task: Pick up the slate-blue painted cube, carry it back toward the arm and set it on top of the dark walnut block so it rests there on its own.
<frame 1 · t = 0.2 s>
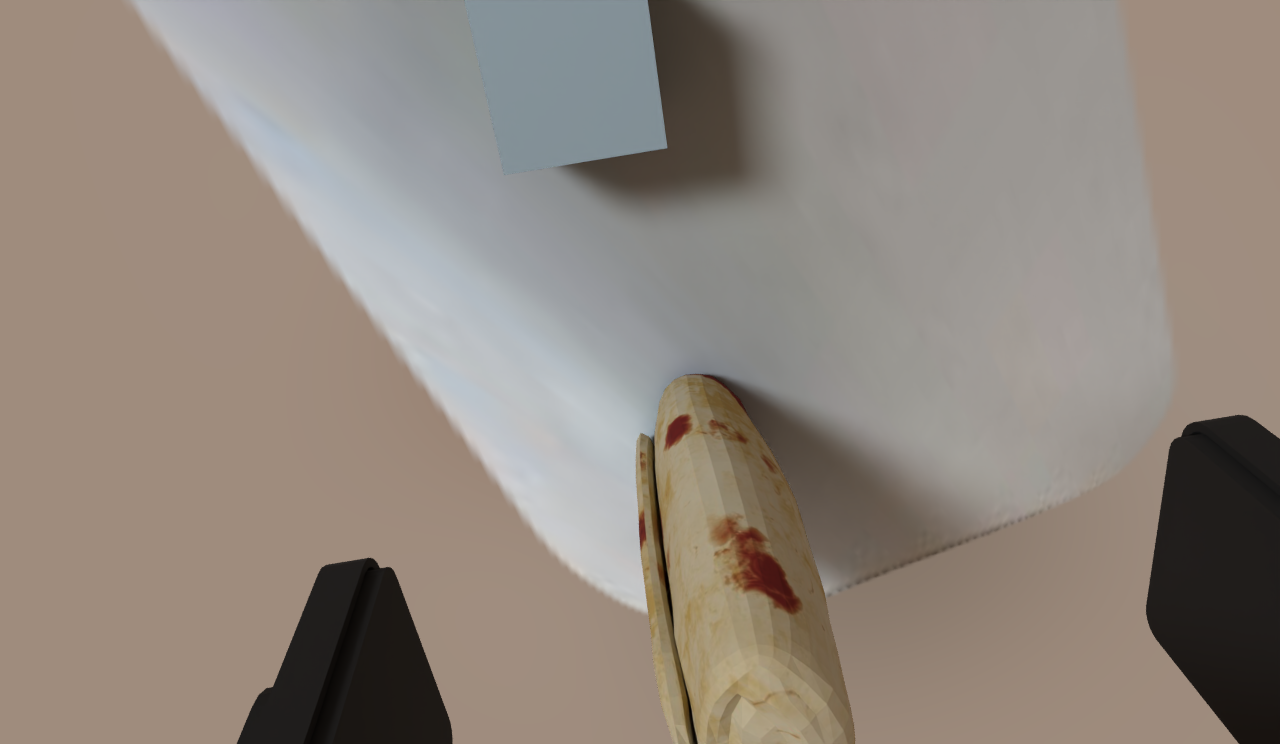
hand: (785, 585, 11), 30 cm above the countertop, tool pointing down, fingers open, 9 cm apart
food model: (698, 427, 45), on the countertop
slate cube: (571, 49, 36), on the countertop
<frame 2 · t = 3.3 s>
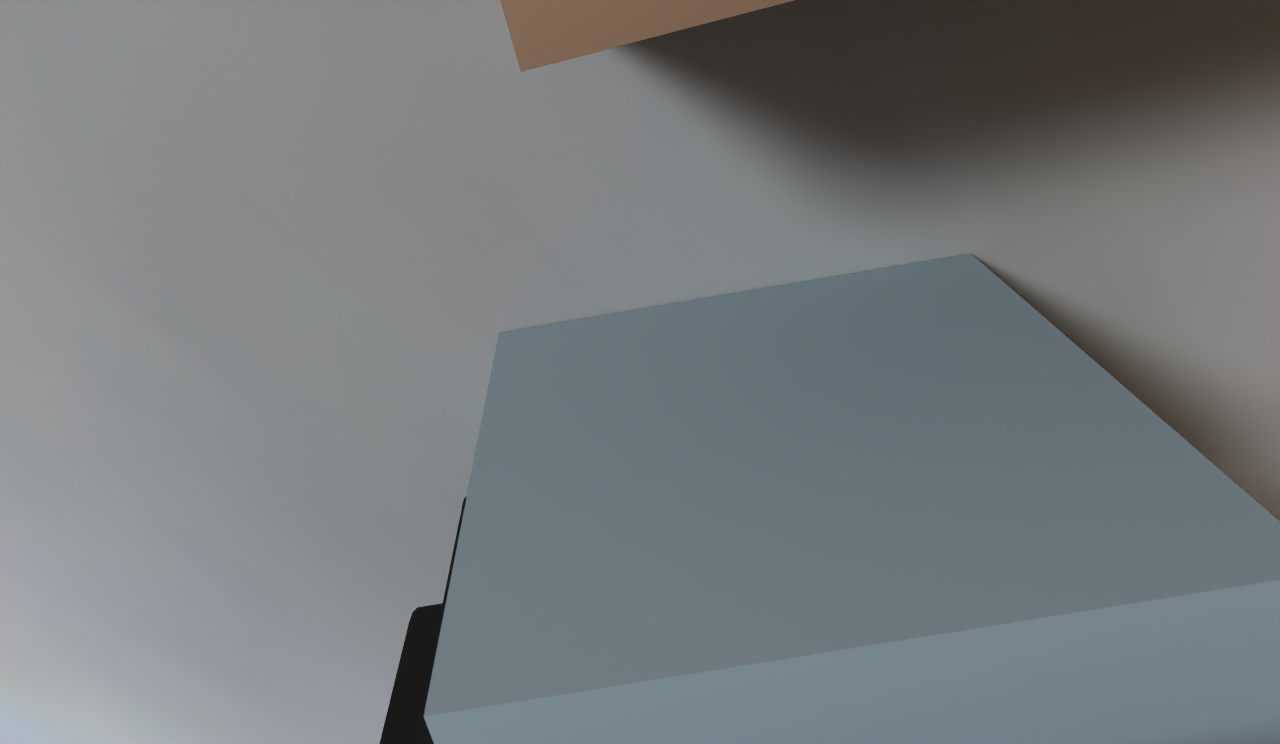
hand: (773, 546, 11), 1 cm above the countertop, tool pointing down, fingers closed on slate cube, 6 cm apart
slate cube: (756, 487, 12), on the countertop, touching gripper
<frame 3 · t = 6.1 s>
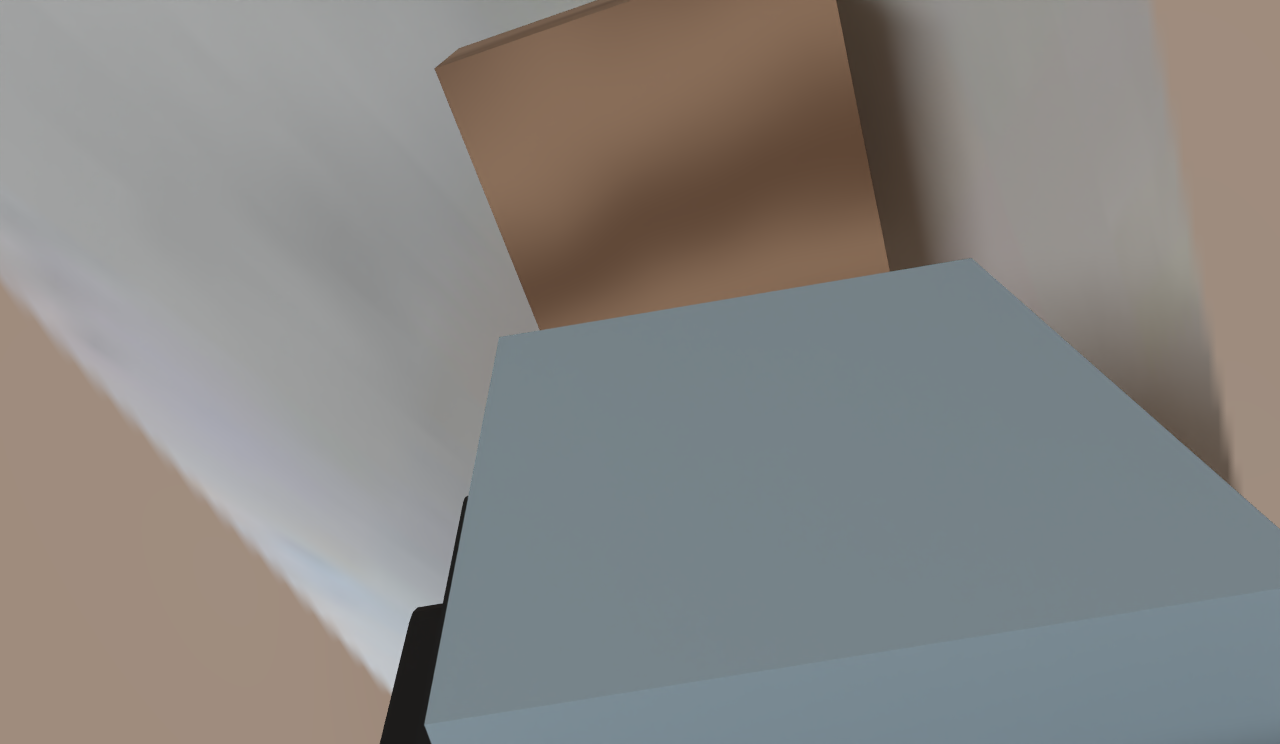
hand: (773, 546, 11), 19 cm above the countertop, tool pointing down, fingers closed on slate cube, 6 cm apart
slate cube: (756, 491, 12), point 18 cm above the countertop, touching gripper
walnut block: (666, 154, 28), on the countertop
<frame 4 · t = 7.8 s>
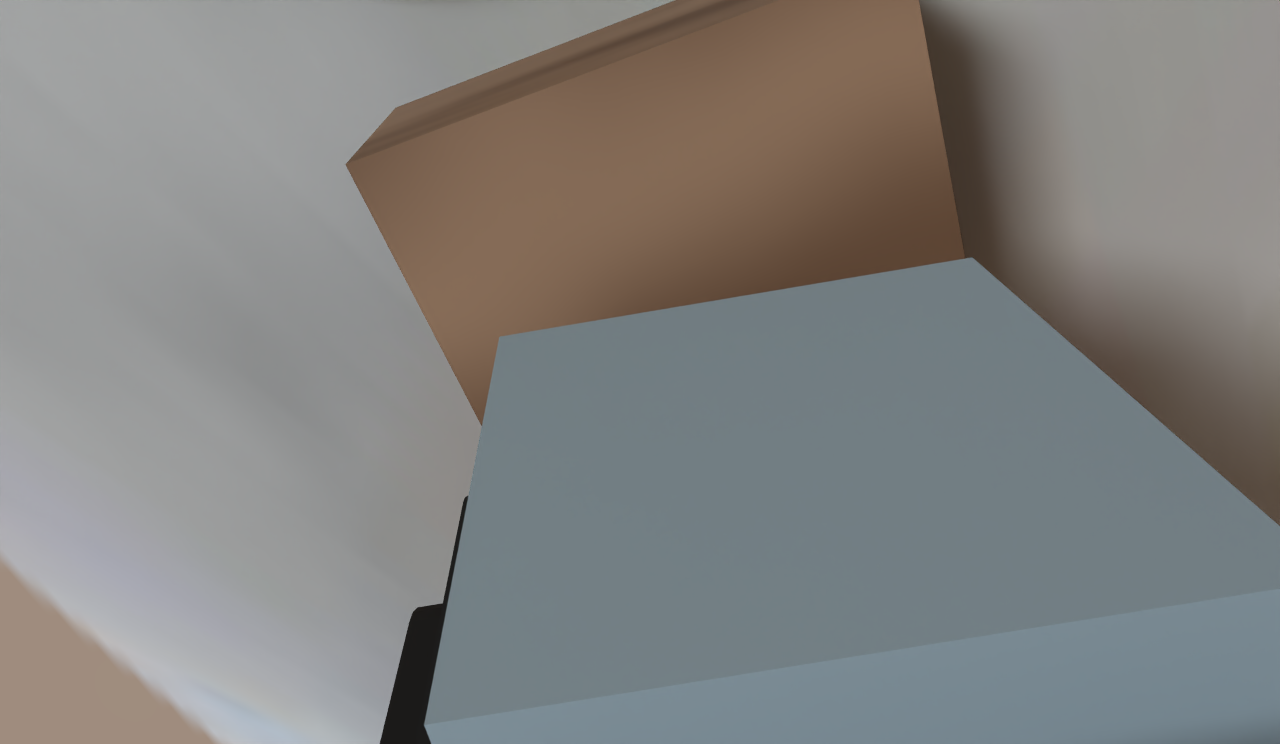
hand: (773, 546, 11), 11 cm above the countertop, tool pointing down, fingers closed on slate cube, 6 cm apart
slate cube: (756, 491, 12), point 10 cm above the countertop, touching gripper
walnut block: (680, 231, 21), on the countertop
when the fingers open (7 cm above the countertop, at t = 9.1 s): slate cube drops 1 cm, point 5 cm above the countertop.
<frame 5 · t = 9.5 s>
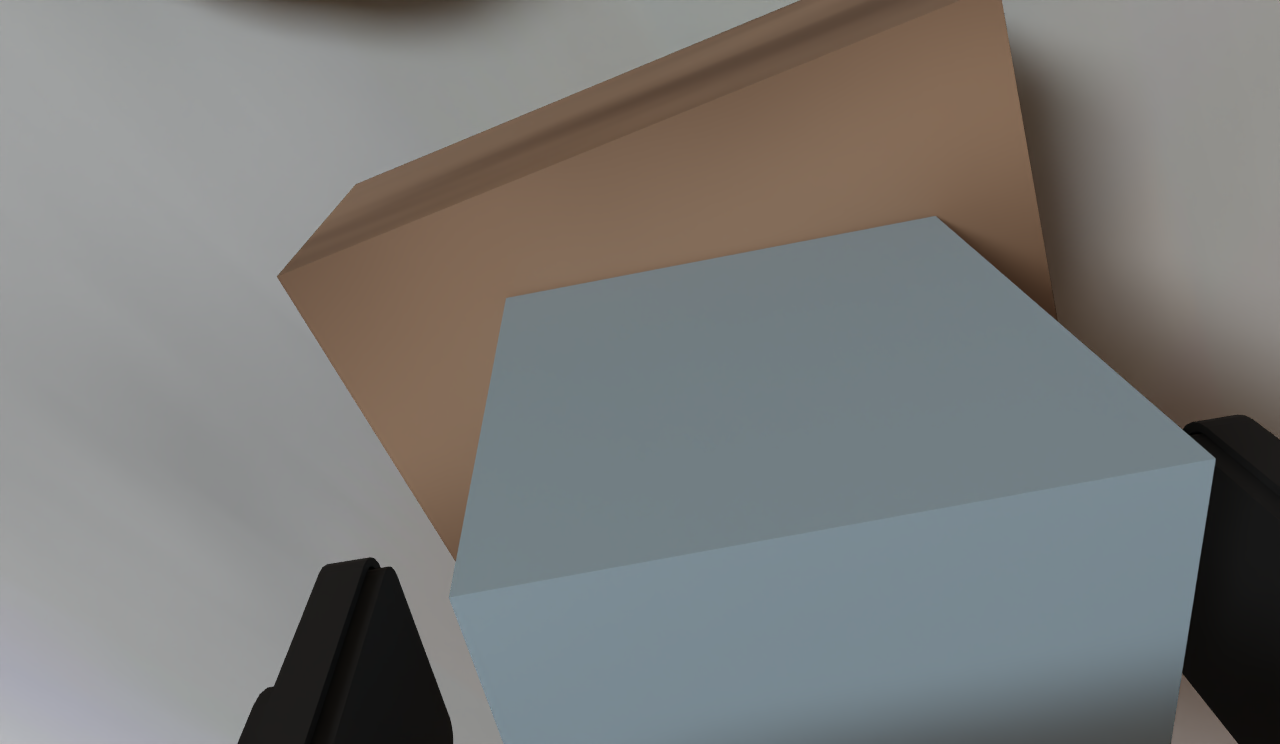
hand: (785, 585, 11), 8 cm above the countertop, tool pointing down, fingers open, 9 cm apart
slate cube: (745, 438, 14), point 5 cm above the countertop
walnut block: (701, 312, 18), on the countertop
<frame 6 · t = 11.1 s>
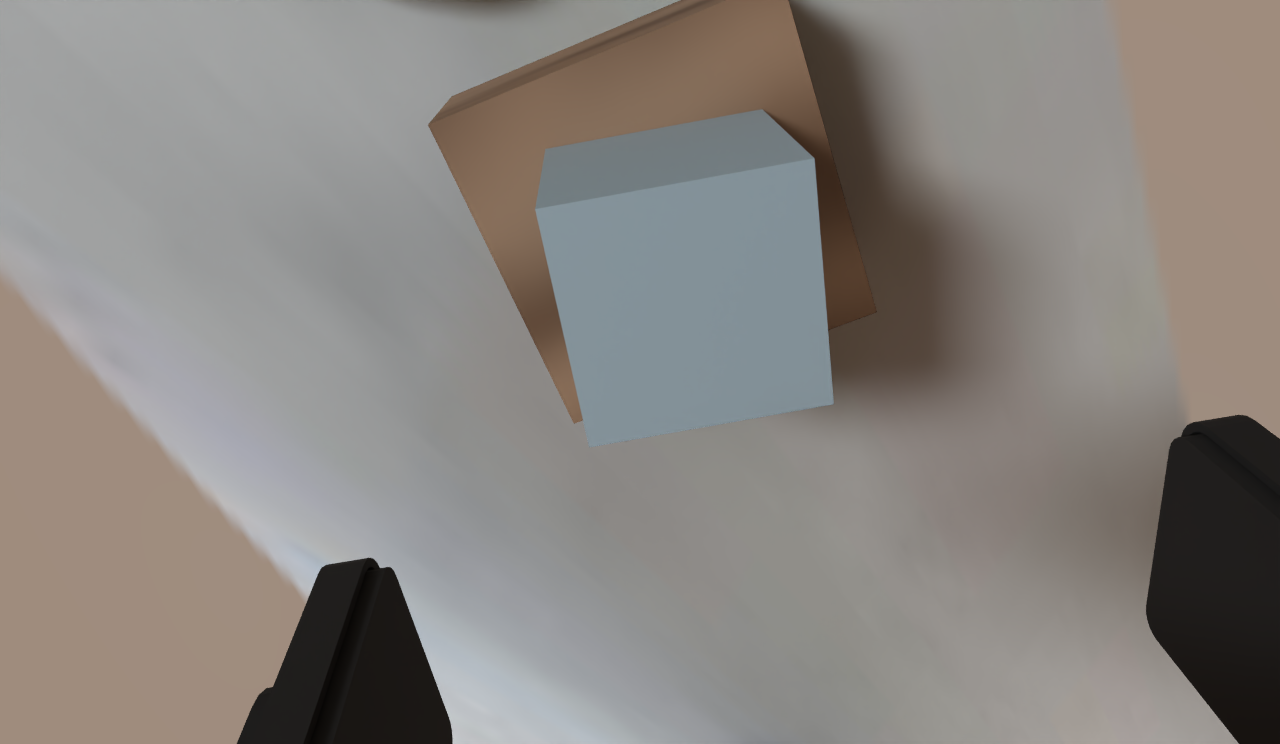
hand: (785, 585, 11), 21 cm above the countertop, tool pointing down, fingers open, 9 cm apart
slate cube: (670, 233, 25), point 5 cm above the countertop
walnut block: (654, 181, 30), on the countertop
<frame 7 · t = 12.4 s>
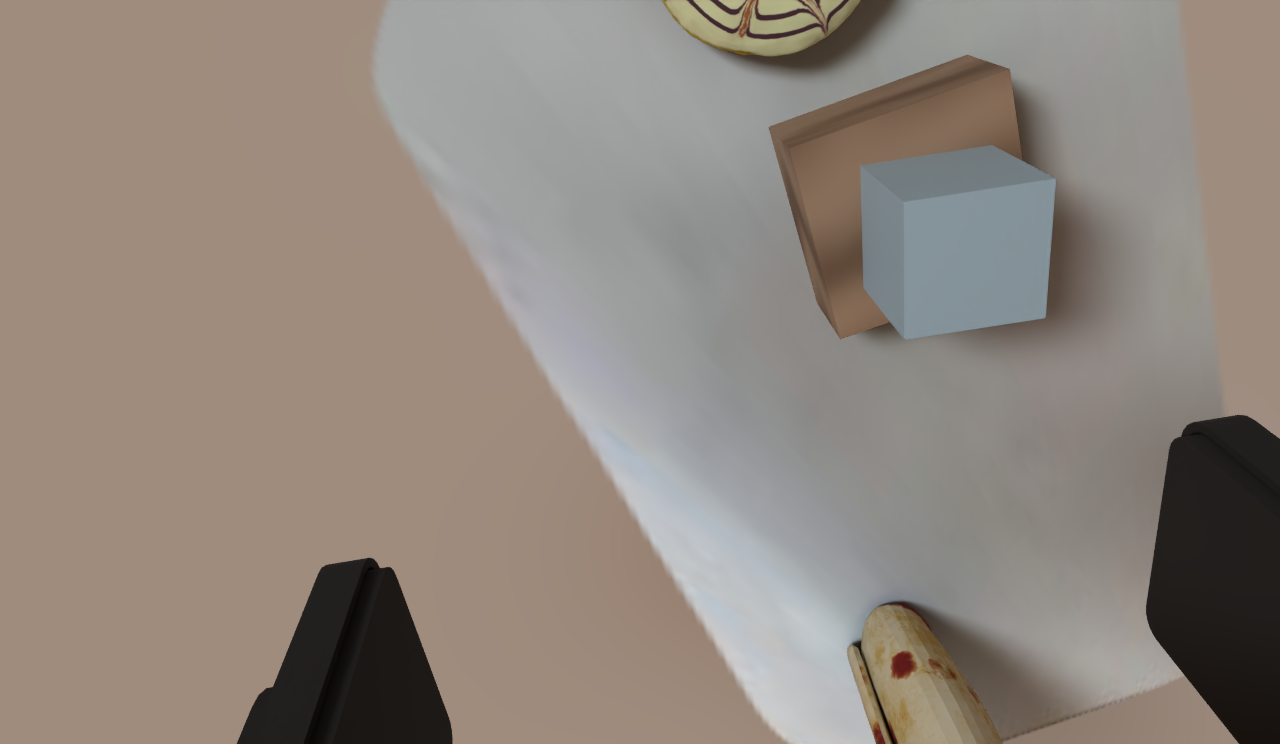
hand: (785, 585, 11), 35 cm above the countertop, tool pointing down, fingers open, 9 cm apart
food model: (887, 635, 59), on the countertop
slate cube: (925, 219, 41), point 5 cm above the countertop, touching walnut block
walnut block: (885, 184, 45), on the countertop, touching slate cube
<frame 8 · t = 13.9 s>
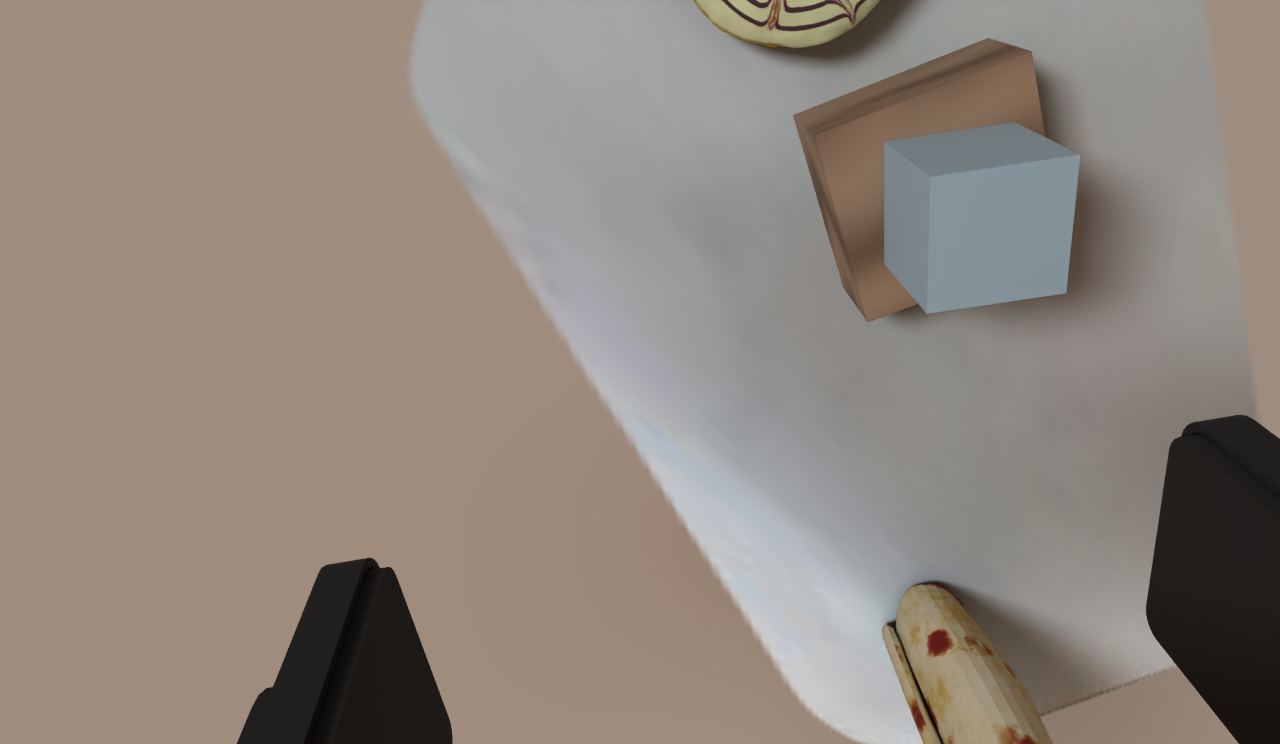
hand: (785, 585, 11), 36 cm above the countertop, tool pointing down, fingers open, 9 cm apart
food model: (921, 614, 60), on the countertop
slate cube: (947, 195, 42), point 5 cm above the countertop
walnut block: (909, 169, 46), on the countertop
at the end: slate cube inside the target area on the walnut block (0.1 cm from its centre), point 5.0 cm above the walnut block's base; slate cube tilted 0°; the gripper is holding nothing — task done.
